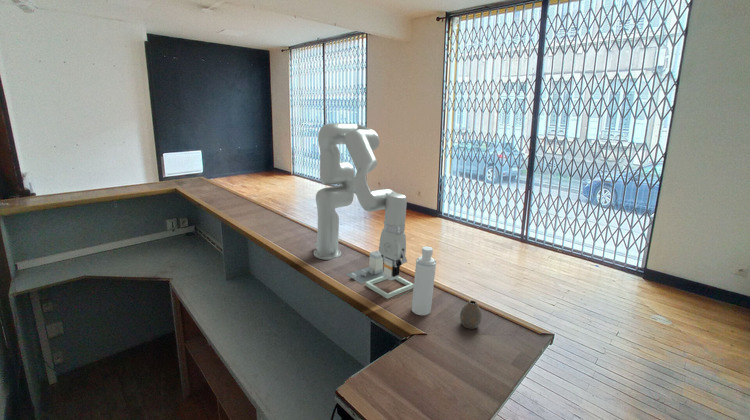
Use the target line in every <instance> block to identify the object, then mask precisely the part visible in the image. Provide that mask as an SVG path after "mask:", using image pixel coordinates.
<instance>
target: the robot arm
mask: <svg viewBox="0 0 750 420" xmlns="http://www.w3.org/2000/svg"><path fill="white" fill-rule="evenodd" d="M317 142H318V147H319V179H320V182H321V183H322V185H323V184H324V185H326V187H323V188H321V189H319V190H317V192H316V194H315V202H316V210H317V211H316V212H317V232H316V233H317V234H316V235H317V237H316V239H317V241H316V242H314V243H313V244H314V246H316V249H315V250H313V256H314V257H315V258H317V259H320V260H323V261H324V260H325V261H326V260H327V261H328V260H329V261H330V260H334V259H339V258H340V257H341V256H342V251H341V250H340V249H339V237H340V236H339V234H340V230H339V228H340V218H339V214H338V213H337V212H336V209H338V208H339V209H340V208H343V207H348V206H350V205H352V203H353V201H354V197H356V198H357V200H358V203H359V205H360V206H361V207H362V209H363V210H364V211H366V212H370V213H371V212H377V211H382V210H384V221H383V228H382V230H381V233H380V237H379V244H378V245H379V246H378V251H379V253H380V254H381V256H382V258H383V263H384V257H388V258H390V259H392V260H394V266H393V270H392V276H393V277H395V276H397V275H399V276H400V270H401V268H400V267H402V265H403V264H406V263H408V260H407V257H406V254H407V253H406V252H407V239H406V238H407V237H406V232H405V228H406V217H407V215H406V214H407V205H408V203H407V202H408V199H407V196H406V195H405V194H402V193H399V192H396V191H394V190H392V189H390V188H381V189H375V190H371V189H370V187H369V185H368V182H367V176H368V174H369V173H371V171H373V170H374V169H375V168H376V167H377V165H378V160H377V158H376V156H375V154H374V152H373V151H375V150H377V149H378V147H379V145H380V137H379V135H378V133H377V132H376V131H375V130H374V129H372V128H369V127H367V126H363V125H362V124H359V123H347V122H346V123H342V122H339V123H338V122H337V123H336V122H333V123H332V122H331V123H327V124H323V126H321V127H320V129H319V131H318V136H317ZM337 145H345V146H346V149H347V151H348V153H349V155H350V157H351V160H352V162H353V165H354V167H355V168H354V167H353V165H352V164H351V163H350V162H349V161H341V152H340V148H339V147H338V146H337ZM355 170H356V173H355ZM327 185H328V187H327ZM330 185H331V186H330ZM332 185H333V186H332ZM334 185H337V186H334ZM397 260H398V263H397ZM383 272H384V266H383Z"/></svg>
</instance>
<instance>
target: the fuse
mask: <svg viewBox="0 0 750 420" xmlns="http://www.w3.org/2000/svg"><path fill="white" fill-rule="evenodd" d="M368 261H369V262H368V267H370V268H372V269H374V270H373V273H374V274H378V273H381V272H383V267H384V262H383V258H382V256H381V254H380V253H379V250H375V251H371V252H369V259H368Z"/></svg>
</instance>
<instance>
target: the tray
mask: <svg viewBox="0 0 750 420" xmlns="http://www.w3.org/2000/svg"><path fill="white" fill-rule="evenodd" d="M386 280H388V279H387V278H385V277H383V276H381V277H378V278H376V279H373V280H370V281H367V282H365V287H367V288H368V289H370V290H372V291H374V292H375V293H377V294H378V295H380V296H382V297H383V298H385V299H387V300H391V299H393V298H396V297H398V298H400V297H399V296H401V297H402V295H403V296H405V295H408V294H410V293H413V288H414V282H413V283H412V282H411V281H408V280H407V279H405V278H403V277H401V276H399V277H398V278H396V279H395V280H396V281H398V282H399V283H401V284H403V285H405V286H402V287H400V288H397V289H394V290H392V291H391V292H386V291H384V290H383V289H381V288H380V287H378V286H376V285H375V284H378V283H380V282H383V281H386ZM411 289H412V290H411ZM404 292H405V293H404ZM402 293H403V294H402ZM407 293H408V294H407ZM390 298H391V299H390ZM396 299H397V298H396ZM391 301H392V300H391Z"/></svg>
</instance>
